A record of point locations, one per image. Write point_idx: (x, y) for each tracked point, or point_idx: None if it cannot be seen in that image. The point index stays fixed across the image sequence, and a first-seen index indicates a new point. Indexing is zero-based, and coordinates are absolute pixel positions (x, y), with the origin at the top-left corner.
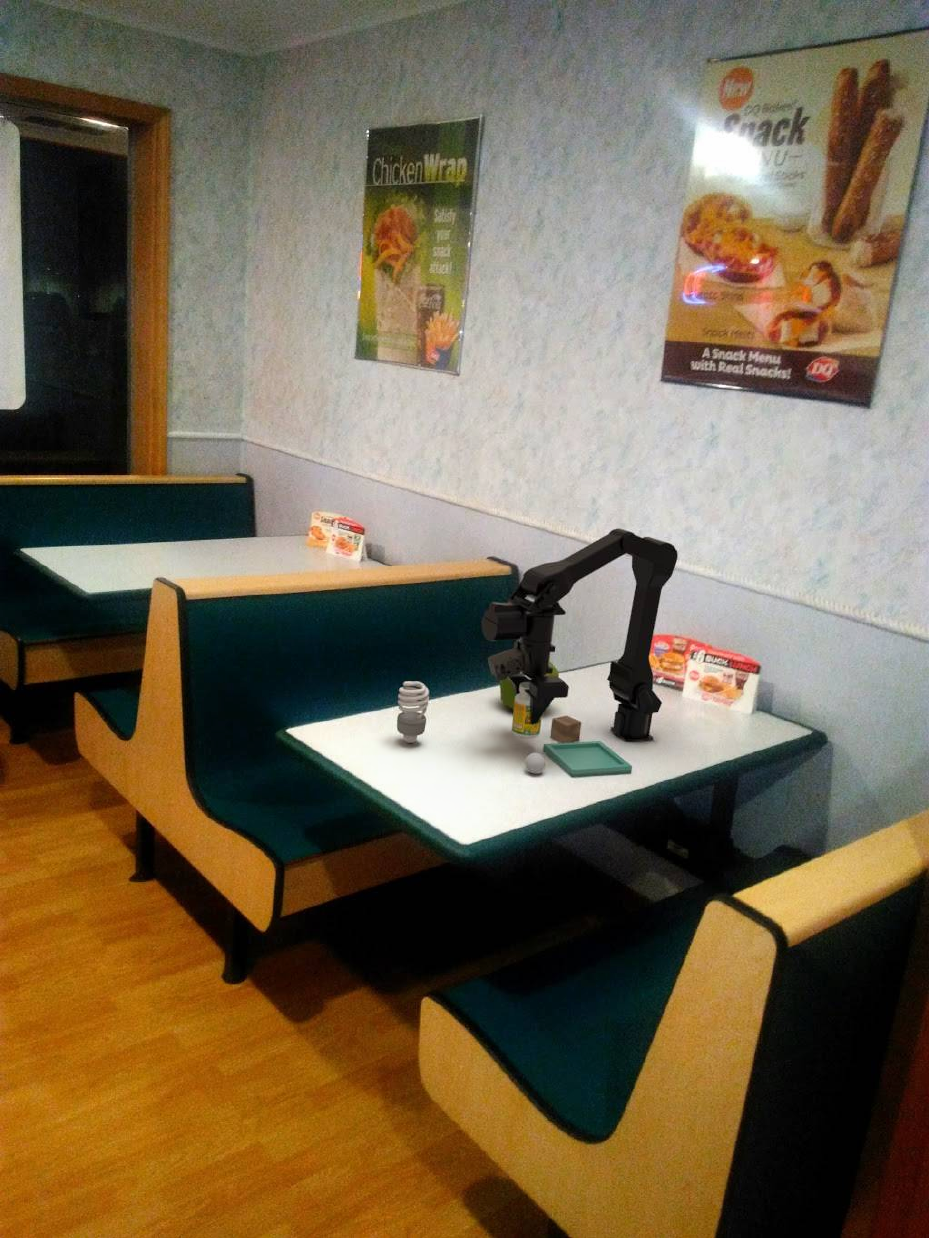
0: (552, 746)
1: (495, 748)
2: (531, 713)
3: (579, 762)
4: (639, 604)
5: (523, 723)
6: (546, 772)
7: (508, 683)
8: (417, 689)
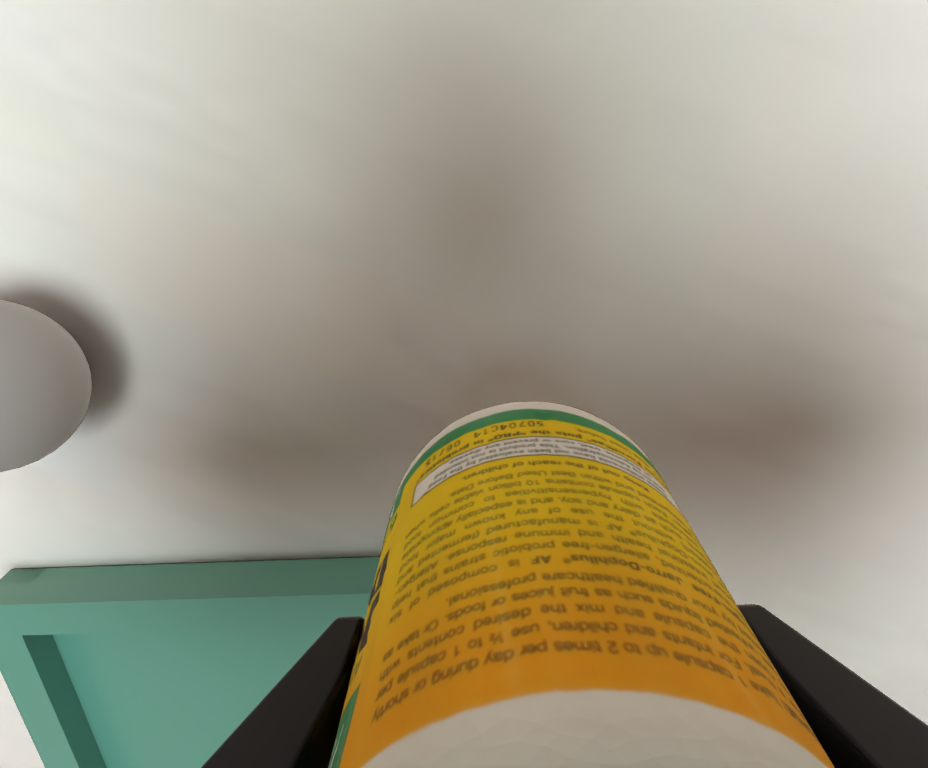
0: None
1: (534, 213)
2: (255, 729)
3: (200, 685)
4: None
5: (400, 538)
6: (71, 446)
7: None
8: None
